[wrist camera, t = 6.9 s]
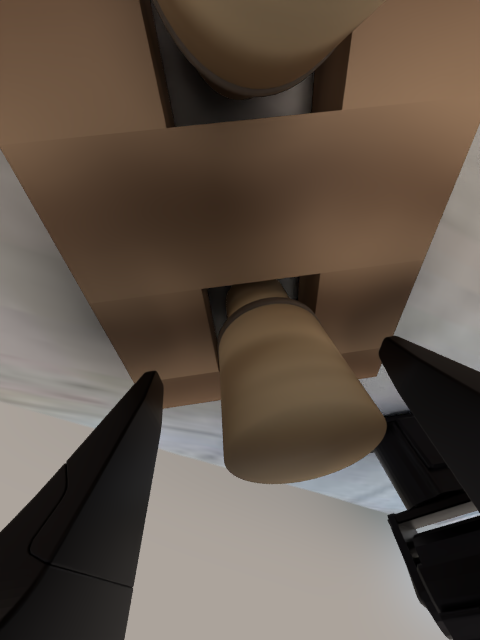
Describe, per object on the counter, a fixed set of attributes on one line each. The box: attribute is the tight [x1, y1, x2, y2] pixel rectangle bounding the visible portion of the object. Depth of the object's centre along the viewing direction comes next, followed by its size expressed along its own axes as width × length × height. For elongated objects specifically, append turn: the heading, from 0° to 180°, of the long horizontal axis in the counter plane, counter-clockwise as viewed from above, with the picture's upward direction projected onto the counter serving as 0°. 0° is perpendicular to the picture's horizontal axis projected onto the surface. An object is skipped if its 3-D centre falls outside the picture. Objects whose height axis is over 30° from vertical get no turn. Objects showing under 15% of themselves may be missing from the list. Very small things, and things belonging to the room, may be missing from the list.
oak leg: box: [217, 279, 387, 484], centre depth 9 cm, size 4×4×8 cm
